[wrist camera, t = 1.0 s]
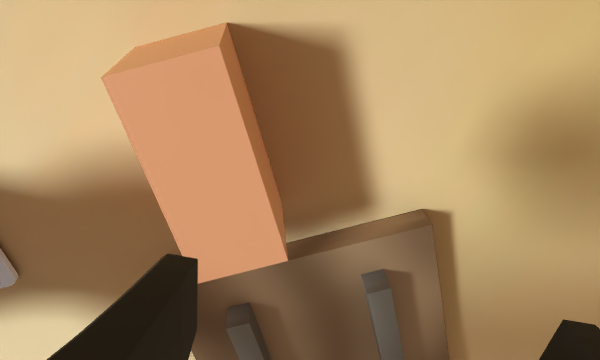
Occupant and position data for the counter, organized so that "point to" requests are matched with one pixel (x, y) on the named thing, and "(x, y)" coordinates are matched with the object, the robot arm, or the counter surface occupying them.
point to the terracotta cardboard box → (202, 150)
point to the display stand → (332, 299)
